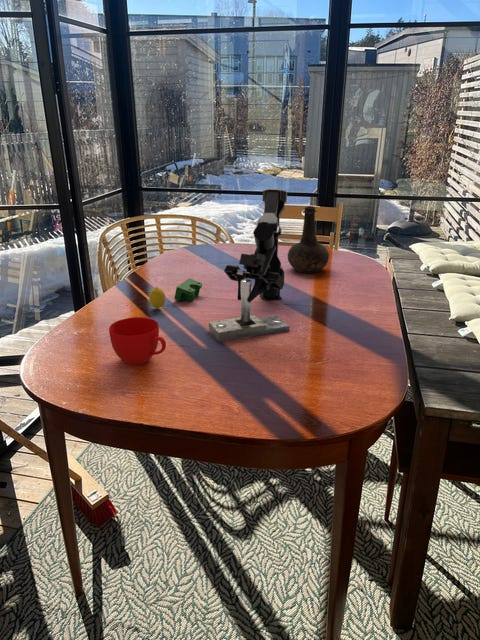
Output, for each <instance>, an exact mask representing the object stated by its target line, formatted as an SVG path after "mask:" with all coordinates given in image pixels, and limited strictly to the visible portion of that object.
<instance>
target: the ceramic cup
mask: <svg viewBox="0 0 480 640" xmlns="http://www.w3.org/2000/svg"><path fill="white" fill-rule="evenodd" d="M159 325H160V324H159V322H158V321H156V319H152V318H149V317H138V316H137V317H136V316H135V317H127V318H126V317H125V318H122V319H120V320H116V321H114V322H113V323H112V324H111V325H109V327H108V333H109V338H110V343H111V347H112V348H113V351H114V353H115V354H116V356H117V357H118V358H119V359H120V360H121V361H122V362H124V363H125V364H126V365H129V366H140V365H141V366H142V365H144V364H146V363H148V362H149V361H150V359H151V358H152V357H153V356H154V355H156V356H157V355H159V354H161V353H163V352H164V351H165V350H166V347H167V342H166V340H165V338H164V337H162V336H160V335H159V334H160V326H159ZM159 342H160V344H161V349H160V350H158V351H157V349H158V346H159V345H158V344H159Z"/></svg>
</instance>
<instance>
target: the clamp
mask: <svg viewBox="0 0 480 640" xmlns="http://www.w3.org/2000/svg"><path fill="white" fill-rule="evenodd" d="M202 287H203V283H202V282H201V281H198V280H195V279H192V278H188V279H186V280H184V281H183V282H182V283H180V284H179V285H177V286H176V288H175V294H174V301H178V302H182V301H183V300H184V299H185V300H187V301H190V302H193V301H194V297H196V298H197V297H199V295H200V291H201V289H202ZM181 300H182V301H181Z"/></svg>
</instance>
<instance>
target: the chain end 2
mask: <svg viewBox="0 0 480 640" xmlns="http://www.w3.org/2000/svg"><path fill="white" fill-rule="evenodd" d="M259 319H260V320H261V321H262V322H263V323H264V324H266V330H261V331H255V332H249V333H242V334H236V339H235V340H238V339H239V338H240V339H245V337H246V338H252V337H257V336H263V335H271V334H276V333H281V332H282V333H283V332H288V331H290V325H289V324H288V323H286V322H285V321H284V320H282V319H281V318H280V317H279V316H277V315H275V316H270V317H269V316H268V317H263V318H259ZM239 325H240V326H247V325H252V324H251V323H244V324H239Z"/></svg>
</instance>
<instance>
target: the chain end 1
mask: <svg viewBox="0 0 480 640" xmlns="http://www.w3.org/2000/svg"><path fill="white" fill-rule="evenodd" d="M260 319H261V318H259V317H257V316H256V314H254V315H253V314H251V320H250V321H248V322H244V321H241V320H240V316H239V317H233V318H226V319H220V320H218V319H217V320H213V321H208V332H209V333H210V334H211V333H212V334H211V335H212V336H213V337H214V339H215V340H216V341H217V342H219V343H221V342H225V341H233V340H237V339H236V334H242V333H249V332H255V331H261V330H266V324H264V323H263V322H262V321H261V320H260ZM244 323H251V324H252V325H247V326H240V325H239V324H244Z"/></svg>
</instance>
